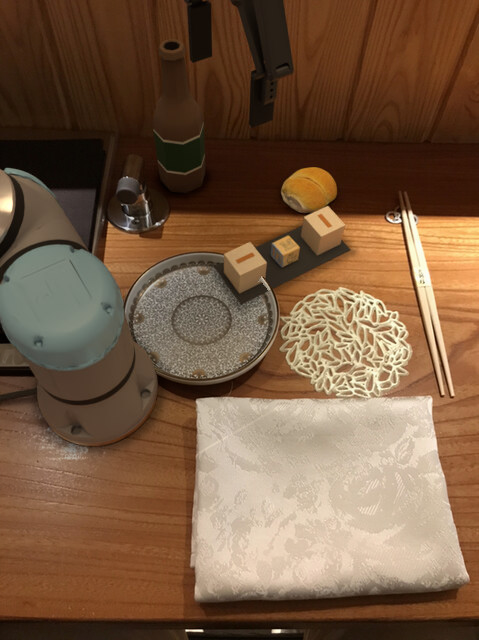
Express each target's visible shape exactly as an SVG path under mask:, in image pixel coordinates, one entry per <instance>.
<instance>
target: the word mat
mask: <svg viewBox="0 0 479 640" xmlns="http://www.w3.org/2000/svg"><path fill="white" fill-rule="evenodd" d="M302 226H303V224H302V225H300V226H298V227H295V228H294V229H291V230H289V231H287V232H285V233H283V234H281V235H279V236H276V237H274V238H271V239H270V240H267V241H266V242H263V243H261V244H259V245H257V246H254V247H255V248H256V250H257V251H258V252H259V253H260V255H261V256H262V257H263V259H264V260H265V261H266V262H267V266H266V276H265V280H266V281H267V282H268V283H269V285H270V286H271V288H272V290H275V289H276V288H278V287H280V286H282V285H284V284H286V283H288V282H290V281H292V280H294V279H297V278H298V277H300V276H302V275H304V274H307V273H309V272H310V271H313V270H315V269H316V268H318V267H320V266H322V265H324V264H326V263H328V262H330V261H332V260H334V259H336V258H338V257H340V256H343V255H345V254H347V253H348V252H351V251H352V250H351V248H350V247H349V246H348V245H347V243H345V242H344V240H343V239H342V240H341V244H340V245H338V246H336V247H334V248H332V249H330V250H328V251H326V252H323V253H321V254H319V255H316V254H315V253H314V251H313V250H312V249H311V248H310V247H309V246H308V244H307V243H306V242H305V241H304V240H303V239H302V237H301V231H302ZM286 236H290V237H291V238H292V240H293V241H294V242H295V243H296V244H297V245H298V246H299V247H300V250H299V256H298V260H296V261H294V262H292V263H290V264H288V265H286V266H284V267H282V268H281V267H280V266H279V264H278V263H277V262H276V261H275V260H274V259H273V258H272V256H271V247H272V243H274V242H276V241H278V240H280V239H282V238H284V237H286ZM213 268H214V269H215V272H216V273H217V274H218V276H220V278H221V280H222V281H223V282H224V284H225V285H226V286H227V288H228V289H229V291H230V292H231V293H232V294H233V296H234V297H235V299H236V300H237V301H238V303H239V304H240V305H244V304H245V303H248V302H250V301H252V300H254V299H256V298H257V297H260V296H262V295H264V294H266V293H268V292H269V291H268V290H267V288H266V287H265V286H264V285H263V283H260V284H258V285H256V286H254V287H252V288H250V289H248V290H246V291H244V292H242V293H239V292H238V291H237V290H236V288H235V287H234V286H233V284H232V283H231V282H230V280H229V279H228V277H227V276H226V275H225V273H224V261H222V262H220V263H218V264H216V265H214V266H213Z"/></svg>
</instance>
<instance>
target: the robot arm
mask: <svg viewBox="0 0 479 640" xmlns="http://www.w3.org/2000/svg"><path fill="white" fill-rule="evenodd" d="M183 1H184V3H185V4H186V14H187V16H186V17H187V33H188V50H189V60H190V62H191V63H192V64H195V63H198V62H199V61H203V60H207V59H209V58H212V57H213V27H212V25H213V24H212V2H211V1H210V0H183ZM229 1H230V3H231V5H233V6H234V7H236V9H237V11H238V14H239V17H240V21H241V25H242V28H243V31H244V34H245V38H246V41H247V44H248V48H249V52H250V55H251V58H252V62H253V63H254V68H255V69H254V70H253V69H252V70H251V71H250V81H249V83H250V85H249V86H250V87H249V108H248V109H249V110H248V113H249V114H248V125H249V126H250V127H251V129H253V128H256V127H258V126H261V125H263V124H267V123H269V122H271V121H273V120H274V110H275V109H274V108H275V101H276V99H277V93H278V82H279V80H281V79H284V78H286V77H288V76H292V75H293V74H294V72H295V70H294V69H295V68H294V63H293V62H294V61H293V56H292V48H291V42H290V35H289V28H288V22H287V15H286V9H285V2H284V0H229ZM124 305H125V303H124V297H123V296H122V291H121V289H120V287H119V284H118V281H116V278H115V277H114V275H113V274H112V272H111V271H110V270H109V268H108V267H107V266H106V264H105V263H104V262H102V260H100V258H98V256H96V255H94V254H93V253H91V252H90V251H89V249H88V247H87V246H86V244H85V243H84V242H83V240H82V238H81V237H80V235H79V233H78V231H77V230H76V228H75V227H74V225H73V224H72V222H71V221H70V218H69V217H68V216H67V214H66V213H65V210H64V208H63V205H62V204H61V201H60V200H59V199H58V198H57V196H56V195H55V194H54V192H53V191H52V190H50V188H49V187H47V185H46V184H44V182H43V181H42V180H40V179H39V178H37V177H36V176H34V175H32V174H31V173H29V172H26V171H24V170H20V169H18V168H17V169H16V168H11V167H5V168H4V170H2V169H1V168H0V325H1V328H2V331H3V332H4V334H5V336H6V338H7V340H8V341H9V342H10V344H11V345H12V346H13V347H14V348H15V350H16V351H18V352H19V354H20V355H21V356H22V358H23V360H24V361H25V363H26V364H27V366H28V368H29V369H30V370H31V372H32V374H33V375H34V377H35V378H36V380H37V387H33V388H29V389H28V388H27V389H22V390H17V391H12V392H7V393H2V394H1V393H0V403H1V402H6V401H11V400H16V399H22V398H28V397H32V396H36V397H37V399H36V400H37V403H38V407H39V410H40V413H41V415H42V417H43V419H44V421H45V422H46V424H47V425H48V426H49V428H50V429H51V430H52V432H54V433H55V434H56V435H57V436H59V437H60V438H61V439H64V440H65V441H67V442H70V443H71V444H75V445H78V446H84V447H101V446H107V445H112V444H114V443H117V442H119V441H122V440H124V439H126V438H127V437H129V436H131V435H132V434H133V433H134V432H136V431H137V430H138V429H139V428H141V426H142V425H143V424H144V423H145V422H146V421H147V419H148V418H149V417H150V416H151V413H152V411H153V410H154V408H155V405H156V402H157V398H158V394H159V381H158V375H157V371H156V372H155V370H156V368H155V369H154V367H155V365H154V362H153V360H152V359H151V358H150V356H149V354H148V352H147V351H146V350H145V349H144V348H143V347H142V346H141V345H140V344H139V343H137V341H135V340H134V339H133V337H132V334H131V330H130V326H129V323H128V319H127V316H126V312H125V311H126V310H125V308H124ZM153 365H154V366H153Z"/></svg>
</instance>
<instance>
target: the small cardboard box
mask: <svg viewBox="0 0 479 640" xmlns="http://www.w3.org/2000/svg"><path fill="white" fill-rule="evenodd" d="M255 247H256V246H254V245H253V243H252V242H251V241H248V242H246V243H244V244H242V245H240V246H238V247H235V248H233V249H231V250H229V251H227V252H225V253H223V262H224V273H225V275H226V276H227V277H228V279H229V280H230V282H231V283H232V284H233V286H234V287H235V288H236V290H237V291H238V292H239V293H242V292H244V291H246V290H248V289H250V288H252V287H254V286H256V285H258V284H260V283H262V282H261V281H260V282H258V281H259V279H260V278H261V276H262V277H264V278H265V276H266V266H267V262H266V261H265V260H264V259H263V257H262V256H261V255H260V253H259V252H258V251H257V250H256V248H255ZM257 282H258V283H257Z"/></svg>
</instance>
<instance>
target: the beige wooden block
mask: <svg viewBox="0 0 479 640" xmlns="http://www.w3.org/2000/svg"><path fill="white" fill-rule="evenodd" d="M302 225H303V226H302ZM302 225H301V226H302V231H301V237H302V239H303V240H304V241H305V242H306V243H307V244H308V246H309V247H310V248H311V249H312V250H313V251H314V253H315V254H316V255H319V254H321V253H323V252H326V251H328V250H330V249H332V248H334V247H336V246H338V245H340V244H341V240H342V241H343V236H344V233H345V228H346V223H344V222H343V220H342V219H340V217H339V216H338V215H337V214H336V213H335V212H334V210H332V209H331V207H330V206H329V205H326V206H325V207H324V208H322V209H320V210H318V211H316V212H312V213H308V214H307V215H304V216H303V220H302Z"/></svg>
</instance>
